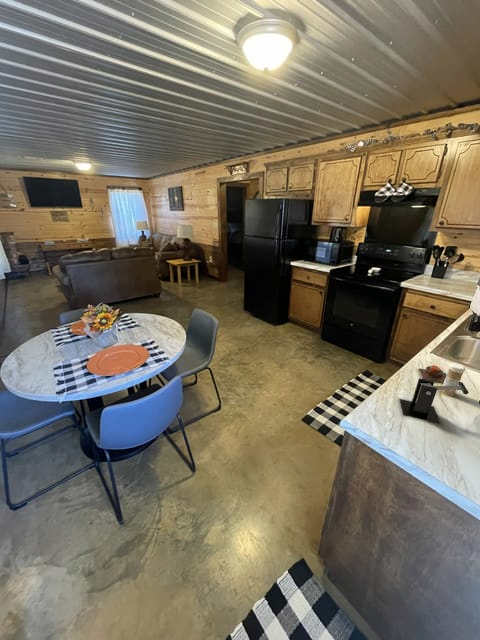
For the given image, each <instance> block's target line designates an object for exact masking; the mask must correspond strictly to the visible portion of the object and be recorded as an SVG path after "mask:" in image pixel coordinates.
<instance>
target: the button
mask: <svg viewBox="0 0 480 640" xmlns="http://www.w3.org/2000/svg"><path fill="white" fill-rule="evenodd" d="M430 366H431V368H430V370H431V371H433V372H436V373H439V370H440V369H441V367H439V366H437V365H433V364H432V365H430Z"/></svg>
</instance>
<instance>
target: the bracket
mask: <svg viewBox="0 0 480 640" xmlns="http://www.w3.org/2000/svg"><path fill="white" fill-rule="evenodd" d="M421 383H430V384H431V386H435V385H434V384H435V382H434V381H430V380H425V379H422V378H418V380H417V383H416V387H415V390H414V393H413V395H412V398H411V400H406V399H402V398H399V404H400V408H401V412H402V415H403V416H406V417H410V418H414V419H418V420H423V421H425V422H430V423H434V424H439V425H441V422H440V419H439V417H438V414H437V411H436V409H435V407H434V405H433V403H434V400H435V398H436V394H437V391H438V390H437V388H435V387H430V386H425V385H421Z"/></svg>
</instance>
